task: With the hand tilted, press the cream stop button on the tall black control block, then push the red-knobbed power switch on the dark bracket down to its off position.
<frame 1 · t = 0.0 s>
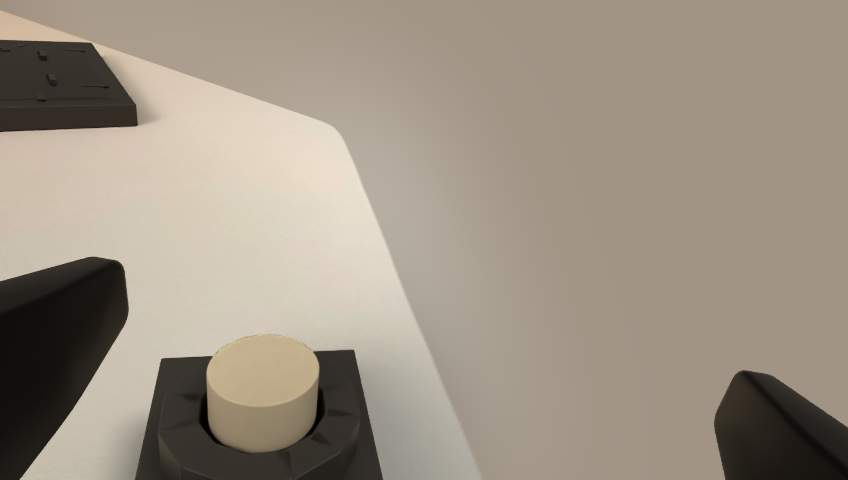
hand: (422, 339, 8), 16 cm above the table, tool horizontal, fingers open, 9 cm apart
stop button: (263, 390, 20), point 7 cm above the table, slide at 0.1 cm
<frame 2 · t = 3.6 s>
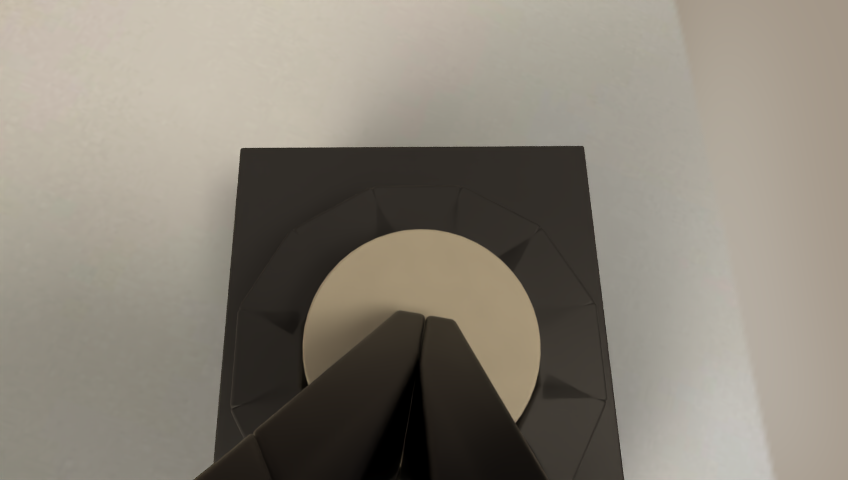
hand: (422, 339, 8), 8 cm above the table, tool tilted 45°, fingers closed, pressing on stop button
stop button: (420, 349, 10), point 7 cm above the table, slide at 0.0 cm, touching gripper
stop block: (414, 383, 16), on the table
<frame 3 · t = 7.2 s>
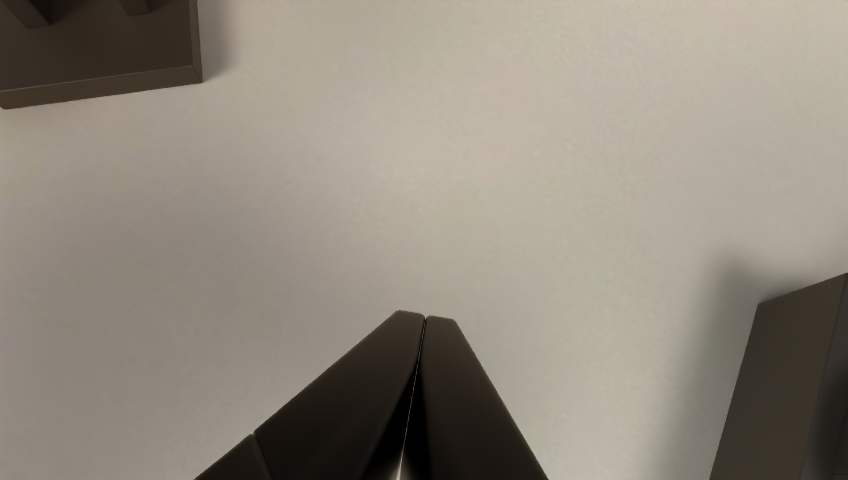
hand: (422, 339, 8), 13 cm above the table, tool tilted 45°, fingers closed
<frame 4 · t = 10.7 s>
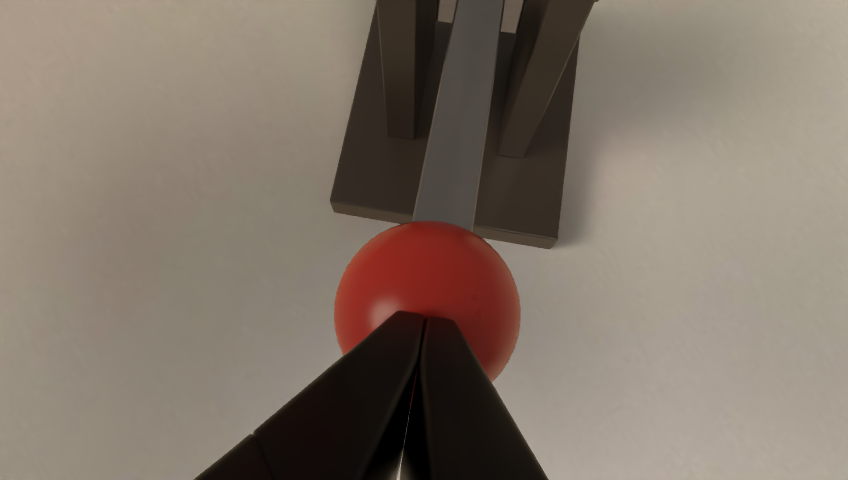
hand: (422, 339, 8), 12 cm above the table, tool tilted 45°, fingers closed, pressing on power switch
power switch: (463, 102, 12), point 9 cm above the table, hinge at 12.3°, touching gripper
switch bracket: (461, 110, 23), on the table
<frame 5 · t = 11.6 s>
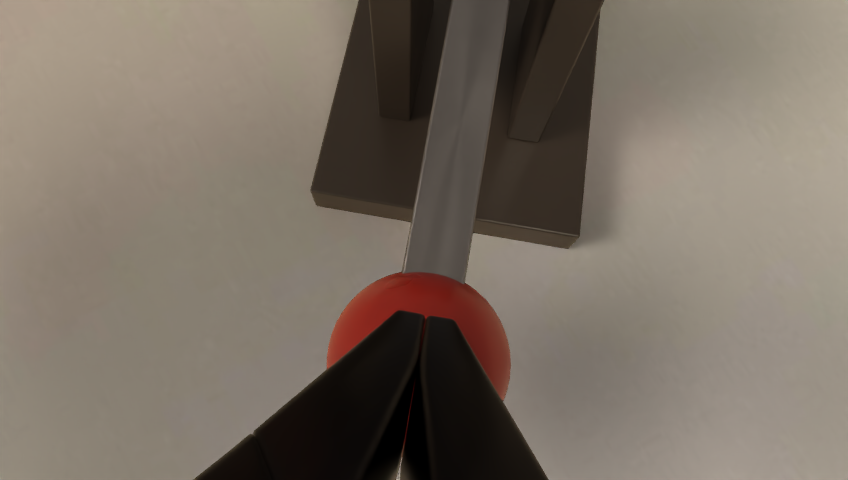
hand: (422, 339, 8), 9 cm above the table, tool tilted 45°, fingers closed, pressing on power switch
power switch: (463, 103, 11), point 7 cm above the table, hinge at -7.9°, touching gripper
switch bracket: (465, 90, 20), on the table
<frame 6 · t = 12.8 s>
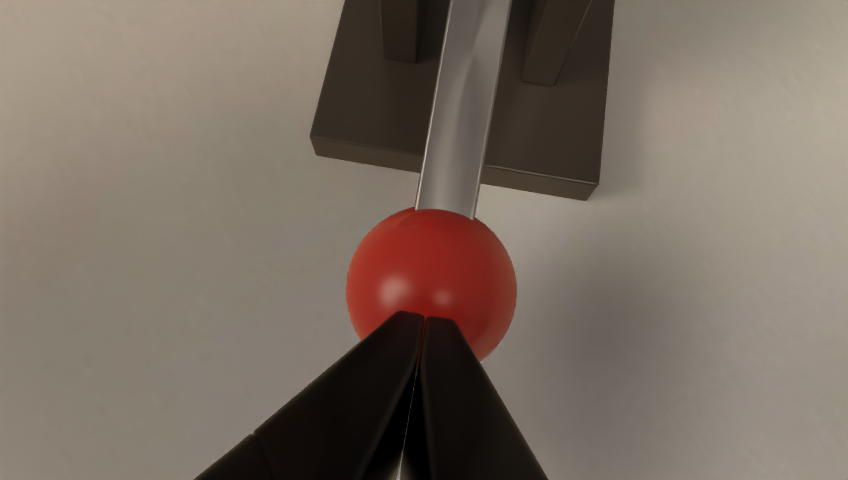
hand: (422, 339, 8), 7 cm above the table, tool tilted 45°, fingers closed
power switch: (475, 32, 11), point 6 cm above the table, hinge at -18.8°
switch bracket: (474, 36, 18), on the table
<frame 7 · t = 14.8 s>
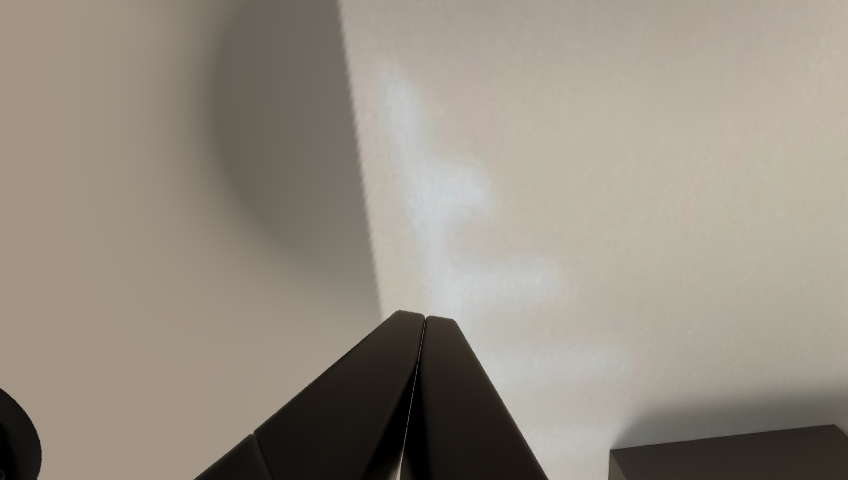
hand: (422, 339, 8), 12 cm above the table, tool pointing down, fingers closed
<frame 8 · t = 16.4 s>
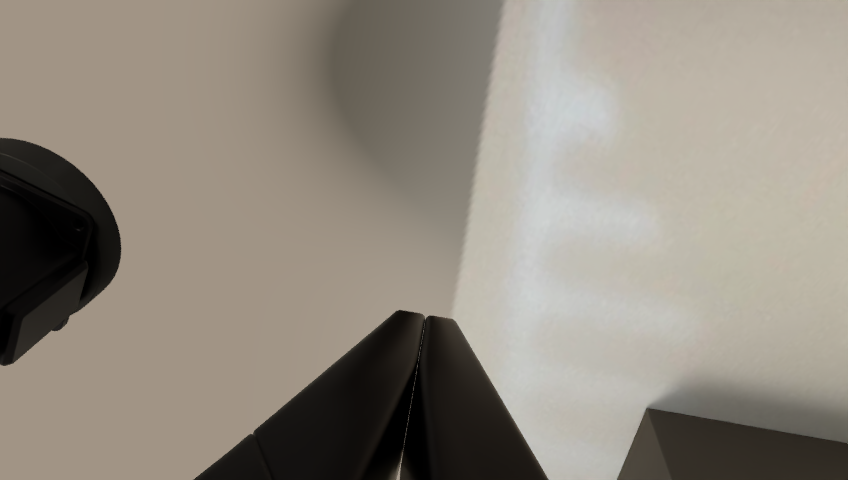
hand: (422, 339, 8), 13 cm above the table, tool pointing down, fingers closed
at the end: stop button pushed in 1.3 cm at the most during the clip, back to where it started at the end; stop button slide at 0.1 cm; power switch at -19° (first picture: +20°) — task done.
